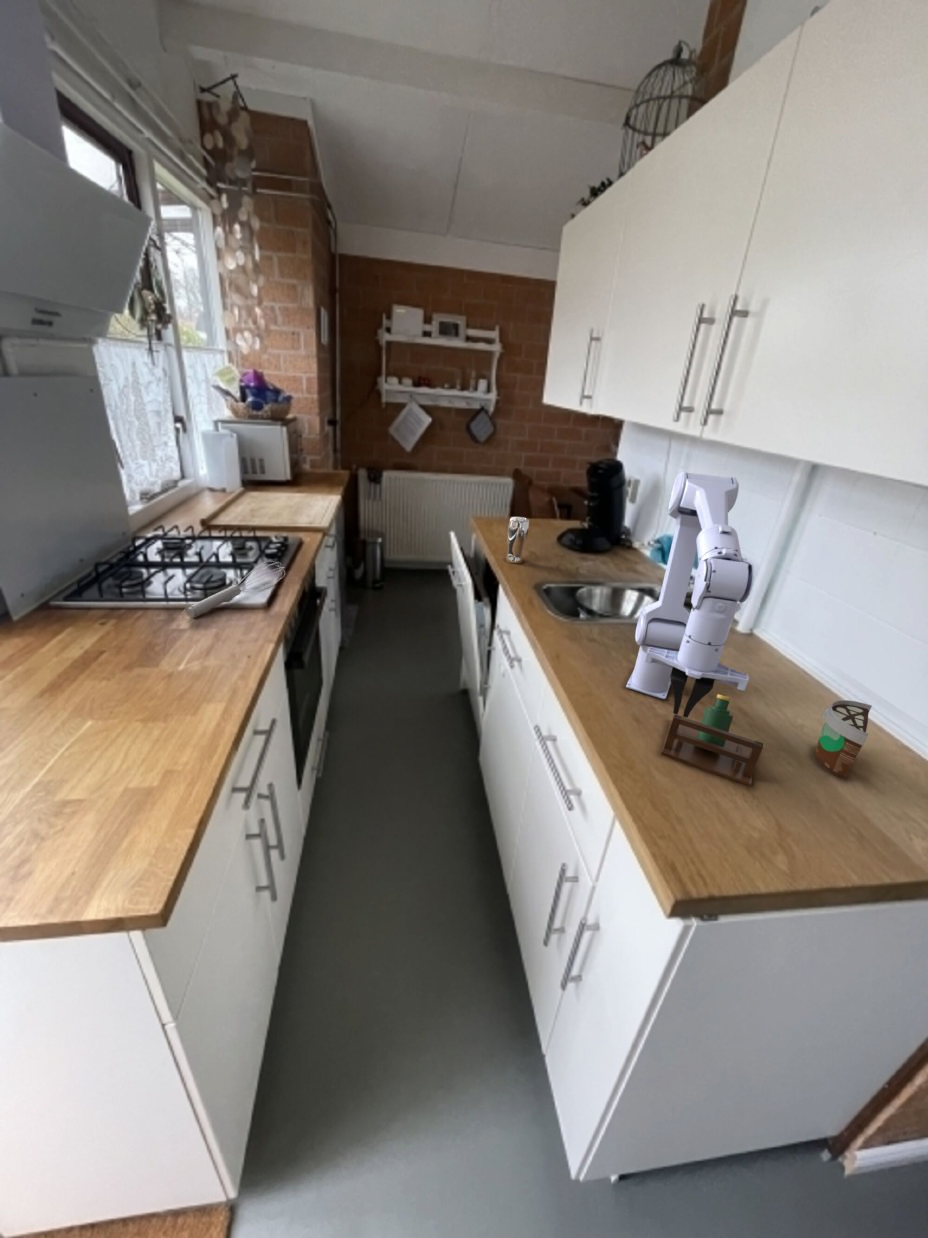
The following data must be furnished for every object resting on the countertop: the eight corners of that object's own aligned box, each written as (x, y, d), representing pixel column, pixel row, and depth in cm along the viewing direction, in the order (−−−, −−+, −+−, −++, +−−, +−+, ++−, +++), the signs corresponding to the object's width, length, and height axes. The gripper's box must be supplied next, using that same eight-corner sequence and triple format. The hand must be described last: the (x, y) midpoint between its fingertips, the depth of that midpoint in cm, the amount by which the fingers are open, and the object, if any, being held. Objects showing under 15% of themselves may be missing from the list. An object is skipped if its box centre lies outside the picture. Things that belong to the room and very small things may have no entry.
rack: (669, 722, 97) (679, 691, 94) (751, 749, 91) (764, 717, 88) (660, 754, 88) (671, 720, 85) (750, 786, 82) (764, 752, 79)
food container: (811, 735, 97) (831, 690, 93) (849, 750, 93) (872, 704, 89) (801, 766, 88) (823, 718, 84) (843, 784, 85) (868, 735, 80)
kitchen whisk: (172, 618, 118) (168, 593, 115) (273, 577, 147) (271, 556, 144) (193, 624, 116) (189, 599, 113) (290, 581, 145) (289, 560, 142)
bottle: (695, 738, 92) (710, 691, 91) (722, 747, 90) (736, 699, 90) (696, 741, 88) (711, 692, 87) (724, 751, 86) (739, 701, 86)
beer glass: (503, 562, 177) (508, 519, 171) (504, 556, 184) (510, 515, 177) (523, 565, 176) (529, 522, 170) (524, 559, 183) (530, 517, 177)
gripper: (650, 633, 76) (630, 709, 82) (758, 662, 70) (728, 742, 76) (658, 617, 82) (638, 689, 87) (758, 643, 76) (730, 718, 81)
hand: (680, 712), depth 82 cm, fingers closed
